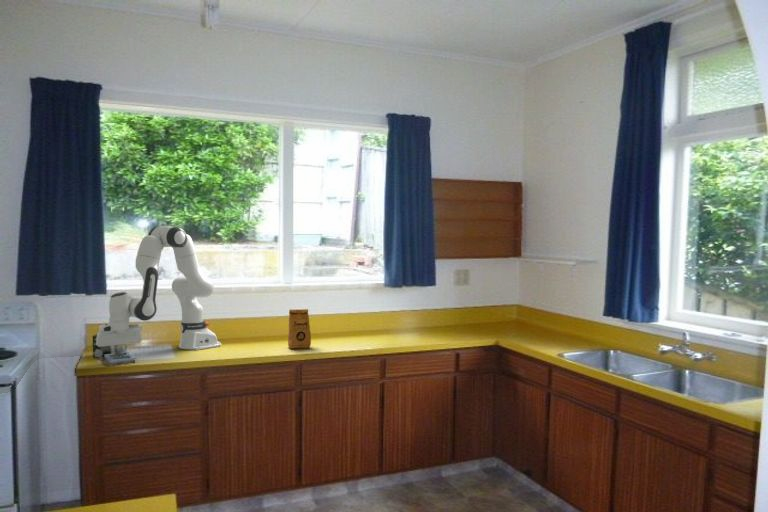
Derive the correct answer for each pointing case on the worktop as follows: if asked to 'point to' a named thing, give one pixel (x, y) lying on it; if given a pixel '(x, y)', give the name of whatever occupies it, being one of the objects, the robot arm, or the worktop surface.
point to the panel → (115, 359)
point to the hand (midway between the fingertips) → (119, 353)
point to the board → (117, 362)
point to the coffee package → (299, 329)
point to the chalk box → (101, 349)
